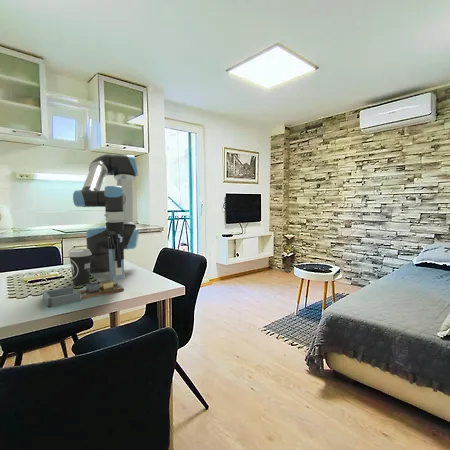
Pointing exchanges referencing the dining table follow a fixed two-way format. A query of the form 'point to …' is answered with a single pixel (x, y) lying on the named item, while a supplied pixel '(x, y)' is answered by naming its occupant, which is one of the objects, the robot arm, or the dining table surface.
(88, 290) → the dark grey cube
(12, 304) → the dining table surface
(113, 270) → the blue grey rectangular box
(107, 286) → the chip brass
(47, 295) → the tray
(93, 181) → the robot arm
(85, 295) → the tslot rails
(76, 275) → the coffee cup
